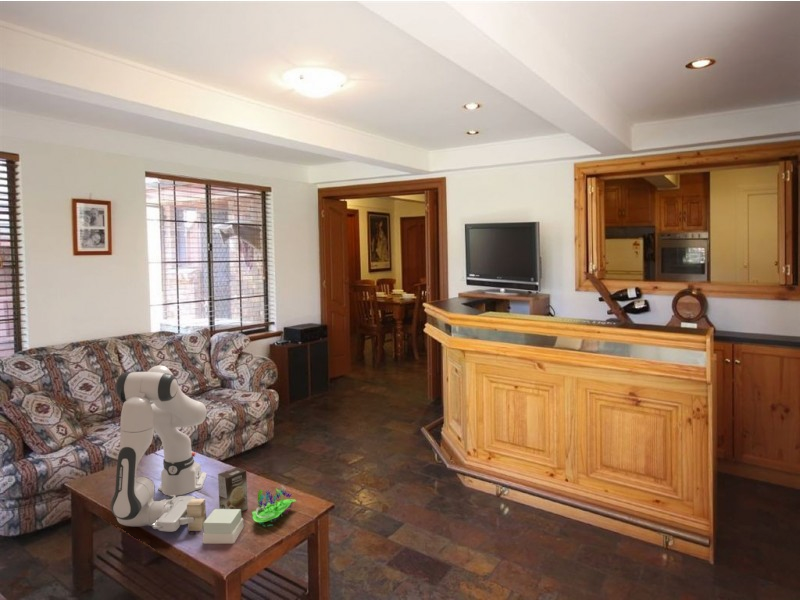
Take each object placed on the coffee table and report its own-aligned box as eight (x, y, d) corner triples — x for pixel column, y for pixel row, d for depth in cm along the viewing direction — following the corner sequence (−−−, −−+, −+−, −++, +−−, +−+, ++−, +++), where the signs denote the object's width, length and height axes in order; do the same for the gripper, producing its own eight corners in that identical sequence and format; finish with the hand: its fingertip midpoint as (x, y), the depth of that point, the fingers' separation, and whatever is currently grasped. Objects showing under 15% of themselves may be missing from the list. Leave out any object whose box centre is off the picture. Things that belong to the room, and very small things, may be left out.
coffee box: (228, 518, 209) (226, 478, 207) (219, 513, 213) (217, 474, 211) (248, 508, 216) (246, 470, 214) (239, 504, 220) (237, 466, 218)
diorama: (240, 523, 205) (239, 492, 203) (281, 502, 220) (280, 474, 219) (263, 535, 196) (262, 502, 195) (304, 512, 212) (303, 482, 211)
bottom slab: (214, 528, 202) (214, 518, 202) (243, 528, 202) (243, 518, 202) (203, 544, 191) (202, 534, 191) (233, 544, 191) (233, 533, 191)
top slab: (215, 519, 201) (214, 508, 201) (241, 519, 201) (240, 509, 200) (204, 533, 191) (203, 522, 191) (231, 533, 191) (230, 523, 190)
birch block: (193, 523, 205) (192, 498, 204) (206, 523, 205) (205, 498, 204) (188, 530, 200) (186, 505, 199) (201, 530, 200) (200, 505, 199)
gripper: (148, 519, 191) (187, 519, 191) (173, 493, 212) (208, 492, 212) (150, 536, 192) (188, 536, 192) (174, 508, 212) (209, 507, 212)
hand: (199, 513), depth 202 cm, fingers open, 8 cm apart
